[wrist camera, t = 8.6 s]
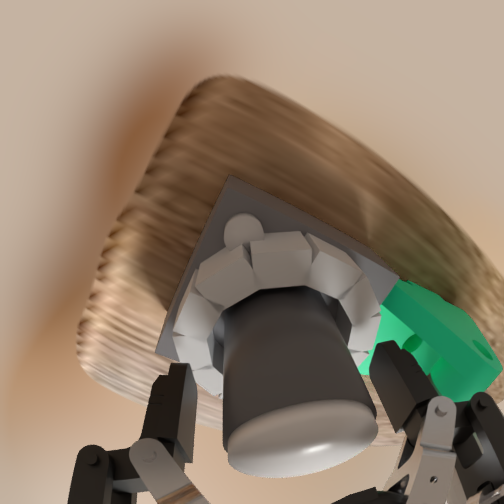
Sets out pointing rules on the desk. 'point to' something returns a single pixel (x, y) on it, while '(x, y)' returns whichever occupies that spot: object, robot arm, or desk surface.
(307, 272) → the segmented ring socket plate
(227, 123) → the desk surface
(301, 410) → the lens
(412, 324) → the camera mount
